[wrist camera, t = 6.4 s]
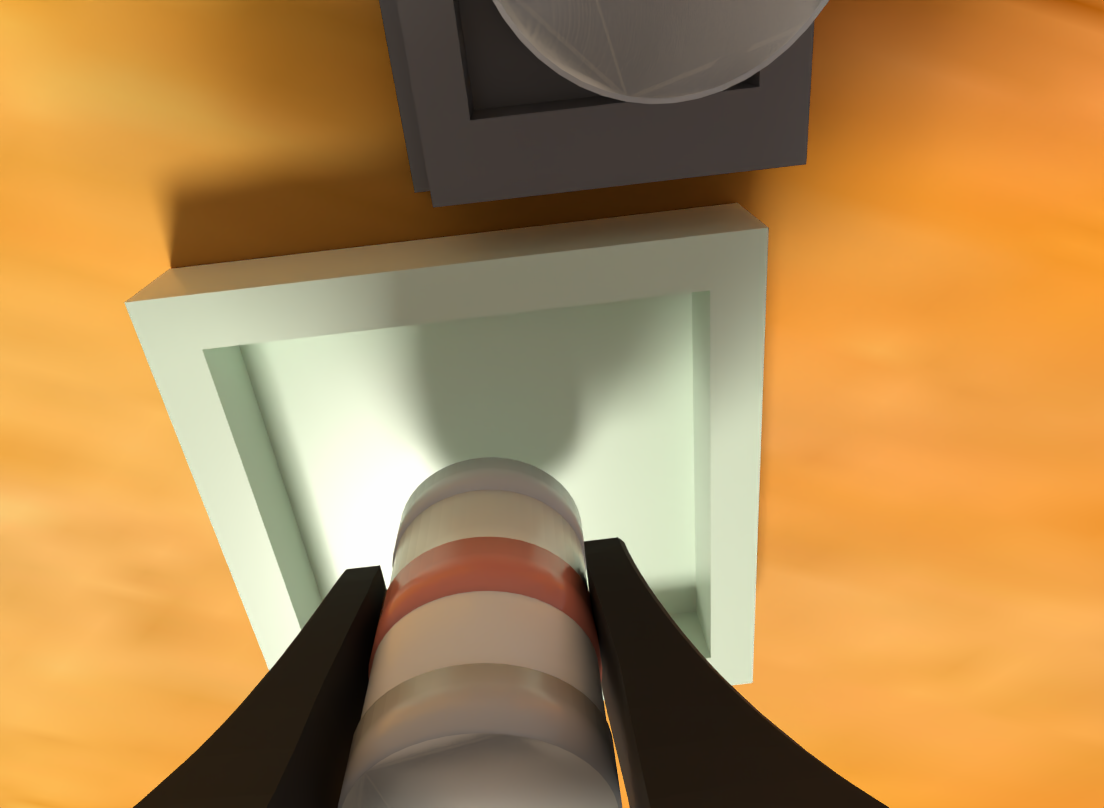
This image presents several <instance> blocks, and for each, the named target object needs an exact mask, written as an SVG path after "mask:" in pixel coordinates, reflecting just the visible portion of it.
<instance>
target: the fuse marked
mask: <svg viewBox="0 0 1104 808" xmlns="http://www.w3.org/2000/svg"><path fill="white" fill-rule="evenodd" d="M392 568H393V570H392V575H391V580H390V584H389V587H388V589H387V591H386V594H385V596H384V599H383V603H382V607H381V612H380V616H379V621H378V625H377V630H376V635H375V639H374V644H373V648H372V653H371V657H370V662H369V671H368V678H369V683H368V687H367V692H366V697H365V701H364V706H363V711H362V715H361V720H360V721H359V723H358V725H357V728H356V730H355V732H354V735H353V740H352V744H351V749H350V753H349V758H348V762H347V767H346V771H345V776H344V781H343V785H342V790H341V794H340V799H339V803H338V808H622V802H621V795H620V788H619V781H618V774H617V767H616V760H615V753H614V746H613V739H612V734H611V731H610V728H609V725H608V723H607V721H606V715H605V708H604V701H603V694H602V687H601V680H602V663H601V656H600V649H599V642H598V635H597V628H596V622H595V617H594V612H593V607H592V601H591V595H590V592H589V590H588V585H587V578H586V558H585V548H584V537H583V530H582V523H581V517H580V514H579V511H578V508H577V506H576V504H575V502H574V500H573V498H572V497H571V495H570V494H569V492H568V491H567V490H566V489H565V488H564V487H563V485H562V484H561V483H560V482H558V481H557V480H556V479H555V478H554V477H552V476H551V475H549V474H548V473H546V472H545V471H543V470H541V469H539V468H537V467H535V466H533V465H530V464H527V463H524V462H521V461H517V460H513V459H508V458H497V457H484V458H475V459H469V460H465V461H461V462H457V463H454V464H452V465H449V466H446V467H445V468H443V469H441V470H439V471H437V472H435V473H434V474H432V475H431V476H430V477H428V478H427V479H425V480H424V481H423V482H422V483H421V484H420V485H419V486H418V487H417V488H416V489H415V491H414V492H413V493H412V494H411V496H410V498H409V499H408V501H407V503H406V505H405V507H404V510H403V512H402V516H401V521H400V525H399V530H398V534H397V539H396V543H395V548H394V552H393V561H392Z"/></svg>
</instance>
